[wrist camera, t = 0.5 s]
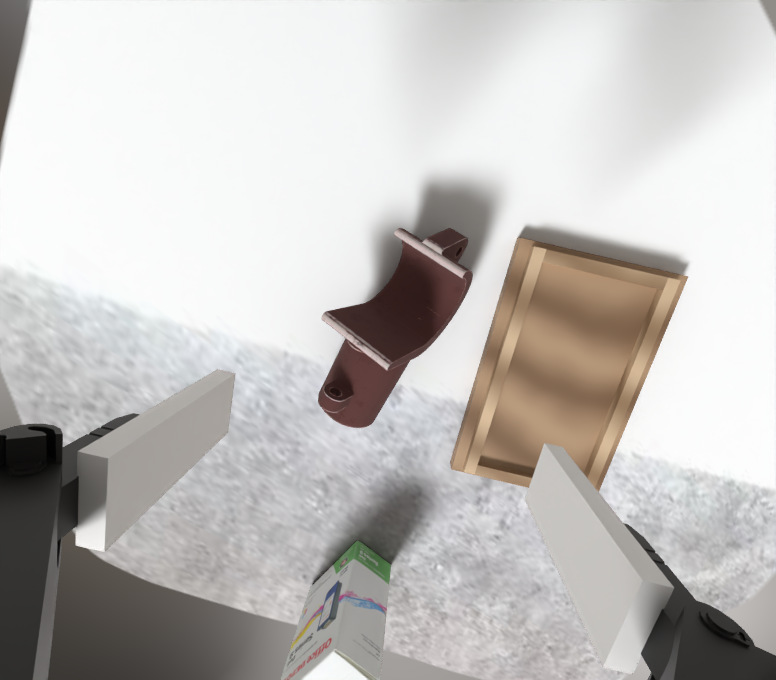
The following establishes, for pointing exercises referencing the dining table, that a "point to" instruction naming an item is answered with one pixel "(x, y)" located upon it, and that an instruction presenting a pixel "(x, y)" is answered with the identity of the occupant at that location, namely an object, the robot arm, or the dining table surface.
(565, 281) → the side panel
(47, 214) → the dining table surface
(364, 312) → the bracket
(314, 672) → the ink box
